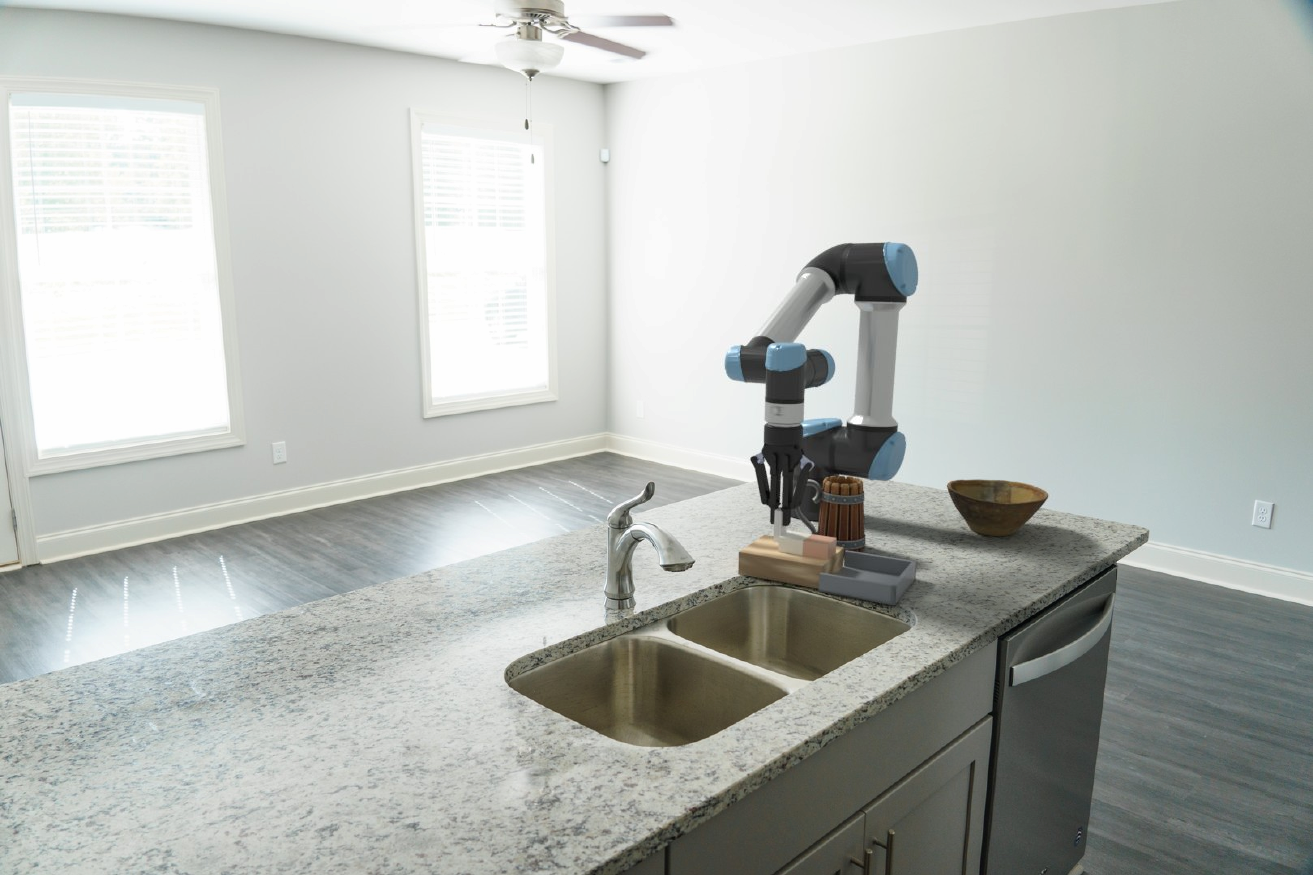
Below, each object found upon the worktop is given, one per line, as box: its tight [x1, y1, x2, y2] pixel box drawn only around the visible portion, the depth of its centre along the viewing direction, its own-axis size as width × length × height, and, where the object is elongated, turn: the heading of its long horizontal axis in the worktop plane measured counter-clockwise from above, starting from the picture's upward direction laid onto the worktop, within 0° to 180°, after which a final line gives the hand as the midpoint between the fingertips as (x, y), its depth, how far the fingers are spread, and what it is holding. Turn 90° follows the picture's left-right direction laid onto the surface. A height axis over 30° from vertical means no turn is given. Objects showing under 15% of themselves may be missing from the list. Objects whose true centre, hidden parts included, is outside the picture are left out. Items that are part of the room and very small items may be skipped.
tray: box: [818, 550, 918, 606], centre depth 168 cm, size 16×14×4 cm
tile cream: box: [778, 530, 812, 556], centre depth 174 cm, size 5×5×3 cm
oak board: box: [737, 534, 845, 590], centre depth 175 cm, size 13×17×4 cm
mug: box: [793, 475, 866, 556], centre depth 189 cm, size 16×11×15 cm
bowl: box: [946, 479, 1049, 537], centre depth 202 cm, size 22×23×10 cm
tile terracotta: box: [803, 533, 837, 560], centre depth 171 cm, size 5×5×3 cm
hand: (779, 540), depth 175 cm, fingers closed
